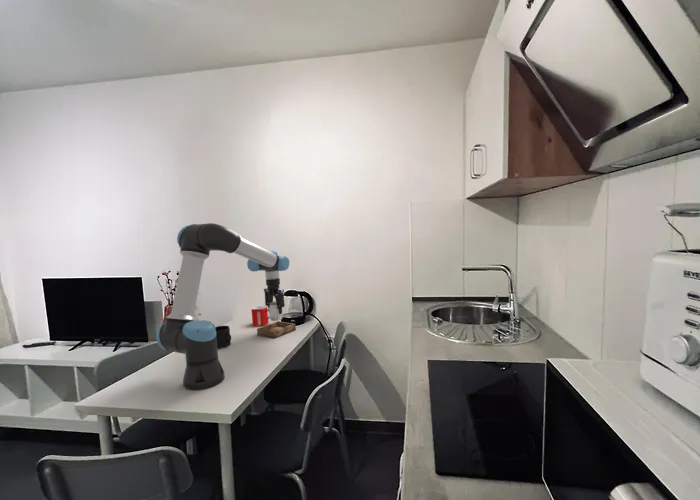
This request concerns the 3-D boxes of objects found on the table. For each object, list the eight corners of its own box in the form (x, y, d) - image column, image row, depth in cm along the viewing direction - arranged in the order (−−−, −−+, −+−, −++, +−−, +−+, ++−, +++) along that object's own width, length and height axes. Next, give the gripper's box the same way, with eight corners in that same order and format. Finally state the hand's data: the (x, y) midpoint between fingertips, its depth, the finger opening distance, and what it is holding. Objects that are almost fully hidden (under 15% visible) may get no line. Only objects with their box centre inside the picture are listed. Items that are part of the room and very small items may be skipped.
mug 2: (251, 326, 213) (250, 309, 212) (257, 322, 221) (256, 306, 220) (269, 326, 210) (268, 309, 210) (275, 322, 218) (274, 305, 218)
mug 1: (224, 350, 174) (223, 332, 173) (207, 347, 179) (205, 330, 178) (238, 343, 182) (237, 326, 181) (221, 341, 187) (220, 325, 187)
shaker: (275, 321, 193) (274, 303, 192) (268, 320, 197) (267, 303, 196) (283, 318, 198) (282, 301, 197) (276, 317, 201) (274, 300, 201)
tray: (275, 338, 187) (274, 332, 187) (257, 334, 195) (256, 328, 195) (295, 329, 200) (295, 323, 200) (278, 326, 208) (278, 321, 208)
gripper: (289, 277, 193) (292, 318, 195) (266, 276, 204) (269, 315, 206) (279, 280, 187) (282, 322, 189) (256, 278, 198) (259, 318, 199)
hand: (275, 318), depth 197 cm, fingers closed on shaker, 6 cm apart
